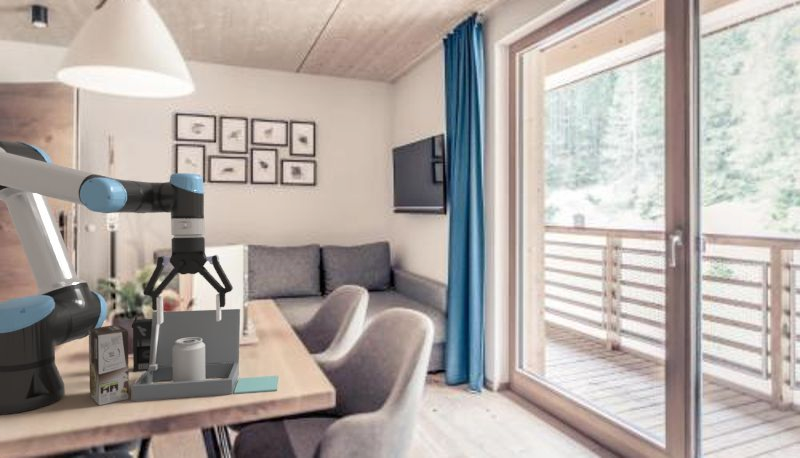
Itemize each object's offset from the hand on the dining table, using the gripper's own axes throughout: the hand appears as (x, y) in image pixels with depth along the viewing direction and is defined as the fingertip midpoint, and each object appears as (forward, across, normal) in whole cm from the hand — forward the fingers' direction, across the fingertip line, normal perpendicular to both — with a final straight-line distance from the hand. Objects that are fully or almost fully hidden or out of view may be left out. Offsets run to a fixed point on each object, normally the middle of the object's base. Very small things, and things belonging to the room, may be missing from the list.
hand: (189, 321), depth 118 cm
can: (+17, 0, 0) cm, 17 cm away
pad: (+17, +16, -2) cm, 23 cm away
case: (+16, 0, +2) cm, 17 cm away
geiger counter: (+16, -14, +18) cm, 28 cm away
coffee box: (+16, -18, -3) cm, 24 cm away
